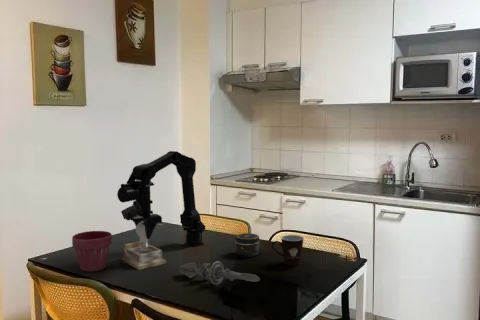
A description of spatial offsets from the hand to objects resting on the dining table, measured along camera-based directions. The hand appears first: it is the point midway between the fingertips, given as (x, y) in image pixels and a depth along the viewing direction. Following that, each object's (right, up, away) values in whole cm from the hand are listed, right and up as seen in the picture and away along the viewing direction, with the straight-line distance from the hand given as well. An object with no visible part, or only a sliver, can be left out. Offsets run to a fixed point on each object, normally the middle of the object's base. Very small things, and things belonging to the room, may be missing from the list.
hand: (144, 237), depth 180 cm
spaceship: (+30, -12, -23) cm, 40 cm away
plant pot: (-18, -11, -5) cm, 22 cm away
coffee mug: (+57, -10, 0) cm, 58 cm away
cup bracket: (0, -10, +1) cm, 10 cm away
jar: (+41, -9, +11) cm, 43 cm away
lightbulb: (0, -5, 0) cm, 5 cm away
